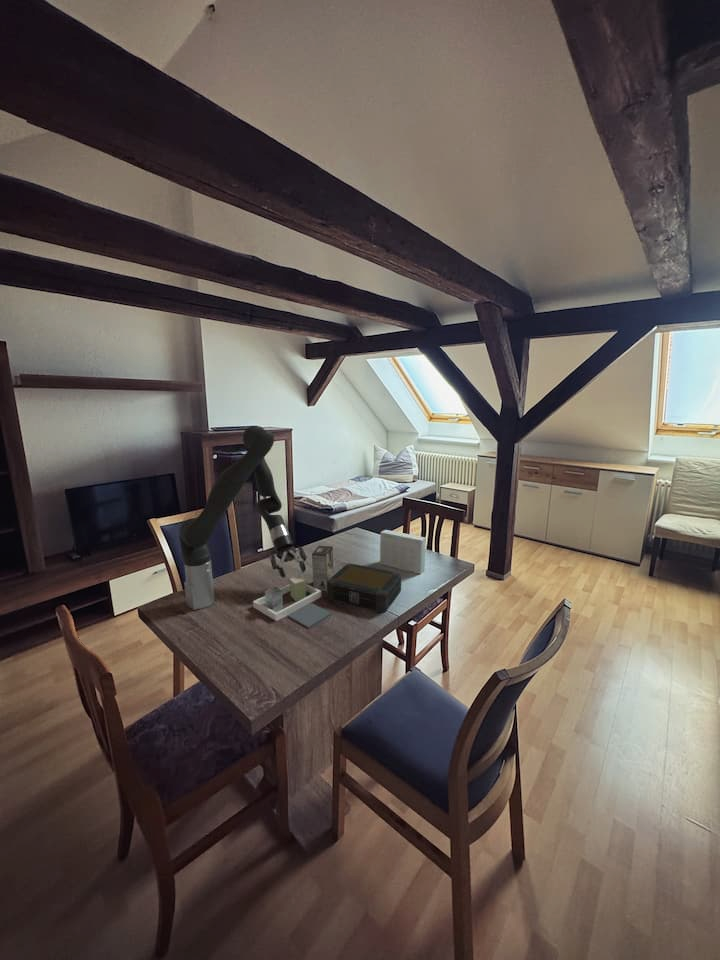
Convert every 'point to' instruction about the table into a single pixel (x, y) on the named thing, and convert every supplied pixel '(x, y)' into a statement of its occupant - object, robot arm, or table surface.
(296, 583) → the olive tin
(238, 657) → the table surface
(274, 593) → the grey tin
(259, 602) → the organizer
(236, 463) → the robot arm
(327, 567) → the coffee box
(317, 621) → the charcoal mat
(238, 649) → the table surface
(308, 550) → the table surface
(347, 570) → the cash box
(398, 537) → the skincare box
